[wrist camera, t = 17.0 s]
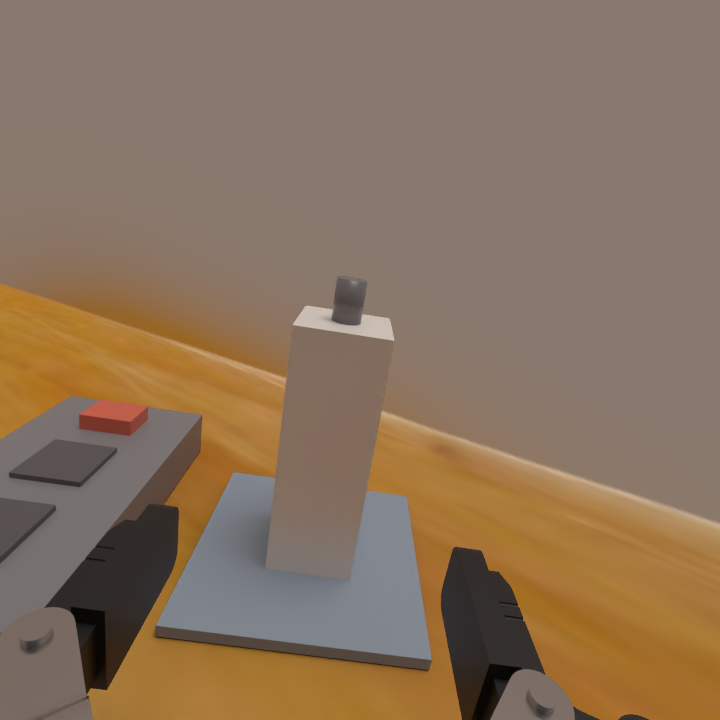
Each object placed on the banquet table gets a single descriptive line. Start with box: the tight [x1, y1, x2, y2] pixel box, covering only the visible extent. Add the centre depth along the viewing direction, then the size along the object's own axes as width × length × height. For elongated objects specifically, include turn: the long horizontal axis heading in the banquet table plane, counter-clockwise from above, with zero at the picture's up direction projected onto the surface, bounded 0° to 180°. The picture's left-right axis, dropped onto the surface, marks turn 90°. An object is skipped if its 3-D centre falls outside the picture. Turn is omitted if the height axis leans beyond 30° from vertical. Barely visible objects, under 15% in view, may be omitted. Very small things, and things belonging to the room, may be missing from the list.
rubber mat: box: [156, 472, 432, 670], centre depth 25 cm, size 12×12×1 cm
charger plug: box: [265, 276, 394, 581], centre depth 23 cm, size 4×4×15 cm
